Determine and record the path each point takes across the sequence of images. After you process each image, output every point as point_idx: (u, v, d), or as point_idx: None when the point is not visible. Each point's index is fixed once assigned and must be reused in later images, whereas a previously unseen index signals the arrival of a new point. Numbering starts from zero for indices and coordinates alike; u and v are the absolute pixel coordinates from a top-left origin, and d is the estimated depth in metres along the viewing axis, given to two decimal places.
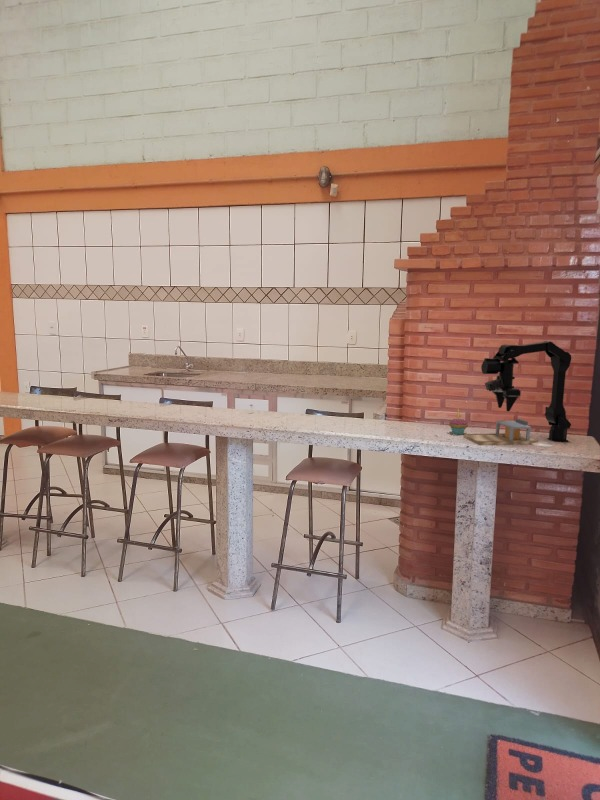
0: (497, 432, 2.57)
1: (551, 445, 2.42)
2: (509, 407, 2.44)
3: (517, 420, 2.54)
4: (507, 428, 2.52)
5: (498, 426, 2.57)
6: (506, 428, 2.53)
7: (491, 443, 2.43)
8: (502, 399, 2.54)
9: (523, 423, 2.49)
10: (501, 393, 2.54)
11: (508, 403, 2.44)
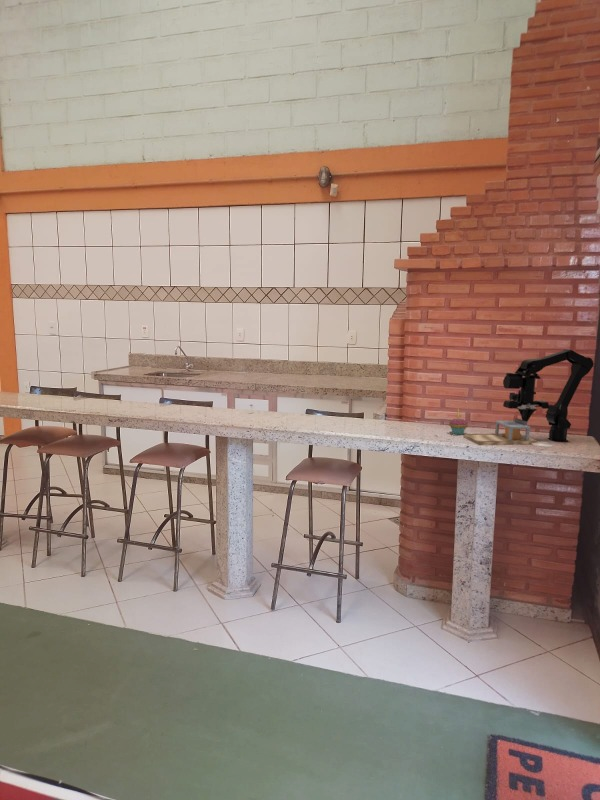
0: (496, 432, 2.57)
1: (551, 445, 2.42)
2: None
3: (516, 420, 2.54)
4: (507, 428, 2.52)
5: (497, 426, 2.57)
6: (506, 428, 2.53)
7: (491, 443, 2.43)
8: (527, 416, 2.51)
9: (522, 423, 2.49)
10: (527, 409, 2.51)
11: (521, 415, 2.52)
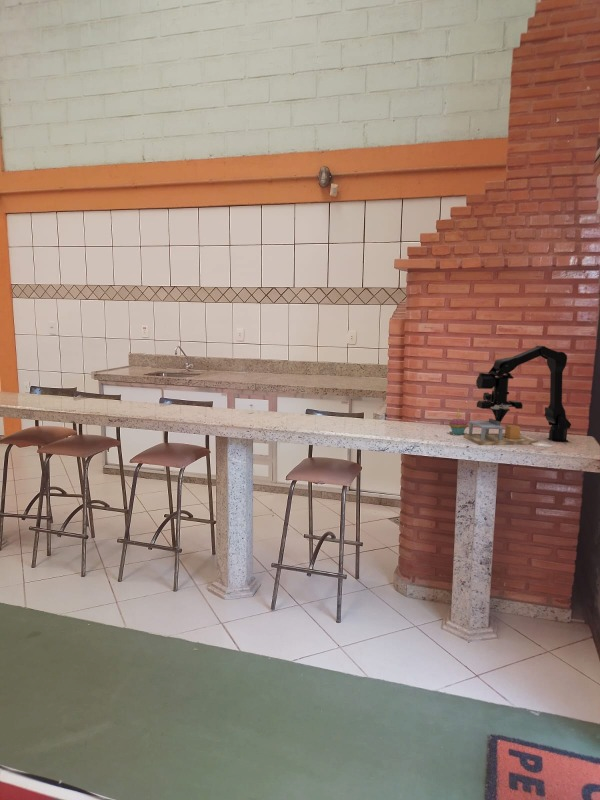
0: (470, 432, 2.55)
1: (551, 445, 2.42)
2: None
3: (490, 420, 2.52)
4: (507, 428, 2.52)
5: (471, 426, 2.55)
6: (506, 428, 2.53)
7: (491, 443, 2.43)
8: (500, 416, 2.49)
9: (495, 423, 2.47)
10: (501, 410, 2.49)
11: (495, 415, 2.50)
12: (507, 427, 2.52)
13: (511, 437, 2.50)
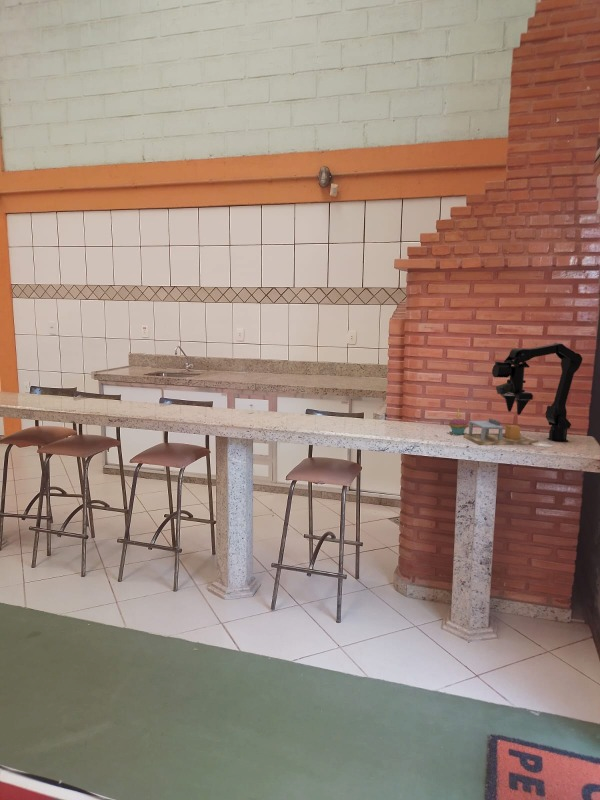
0: (470, 432, 2.55)
1: (551, 445, 2.42)
2: (520, 410, 2.46)
3: (490, 420, 2.52)
4: (507, 428, 2.52)
5: (471, 426, 2.55)
6: (506, 428, 2.53)
7: (491, 443, 2.43)
8: (512, 403, 2.54)
9: (495, 423, 2.47)
10: (511, 397, 2.54)
11: (519, 406, 2.45)
12: (507, 427, 2.52)
13: (511, 437, 2.50)
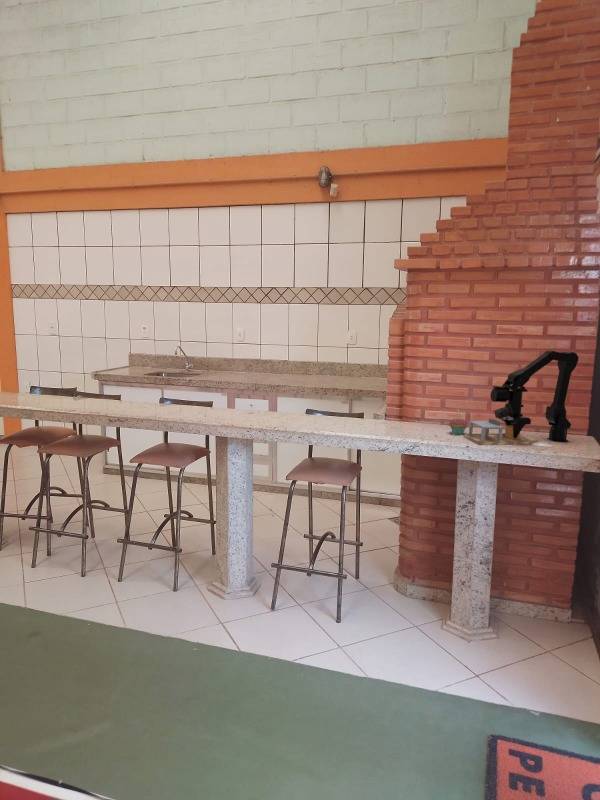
0: (470, 432, 2.55)
1: (551, 445, 2.42)
2: (516, 434, 2.49)
3: (490, 420, 2.52)
4: (507, 428, 2.52)
5: (471, 426, 2.55)
6: (506, 428, 2.53)
7: (491, 443, 2.43)
8: None
9: (495, 423, 2.47)
10: (511, 421, 2.54)
11: (515, 430, 2.48)
12: (507, 427, 2.52)
13: (511, 437, 2.50)
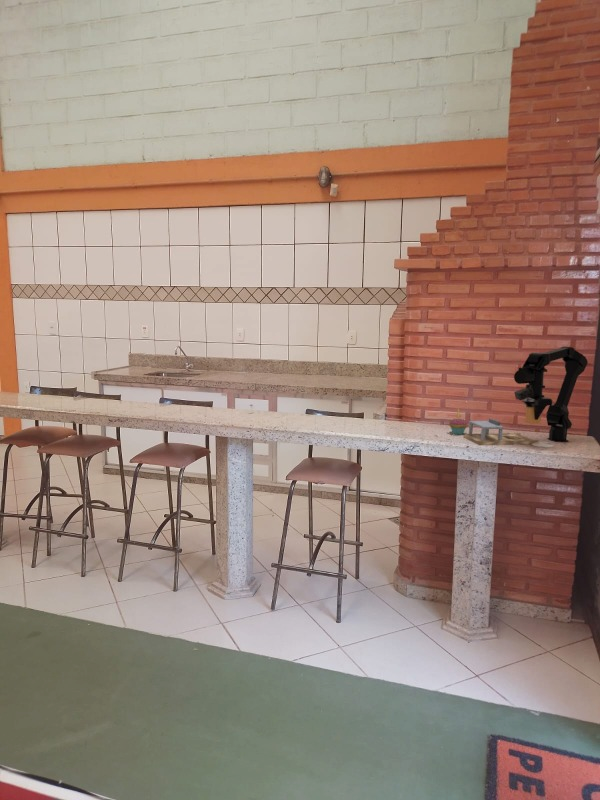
0: (470, 432, 2.55)
1: (551, 445, 2.42)
2: (537, 415, 2.43)
3: (490, 420, 2.52)
4: (528, 410, 2.46)
5: (471, 426, 2.55)
6: (527, 410, 2.47)
7: (491, 443, 2.43)
8: None
9: (495, 423, 2.47)
10: (532, 403, 2.48)
11: (537, 412, 2.42)
12: (528, 409, 2.46)
13: (532, 419, 2.44)
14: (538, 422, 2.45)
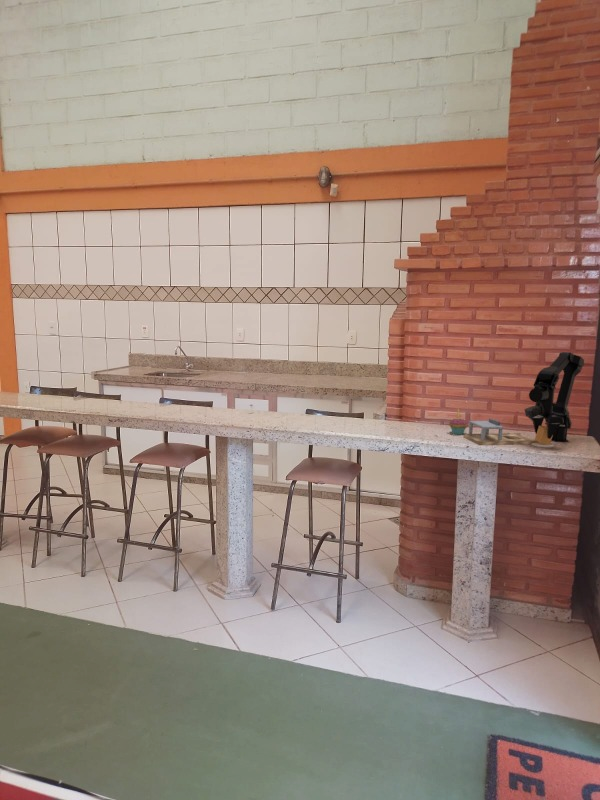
0: (470, 432, 2.55)
1: (551, 445, 2.42)
2: (550, 434, 2.39)
3: (490, 420, 2.52)
4: (540, 429, 2.44)
5: (471, 426, 2.55)
6: (539, 429, 2.44)
7: (491, 443, 2.43)
8: None
9: (495, 423, 2.47)
10: (538, 419, 2.49)
11: (550, 430, 2.38)
12: (540, 428, 2.44)
13: (543, 439, 2.42)
14: (548, 443, 2.43)
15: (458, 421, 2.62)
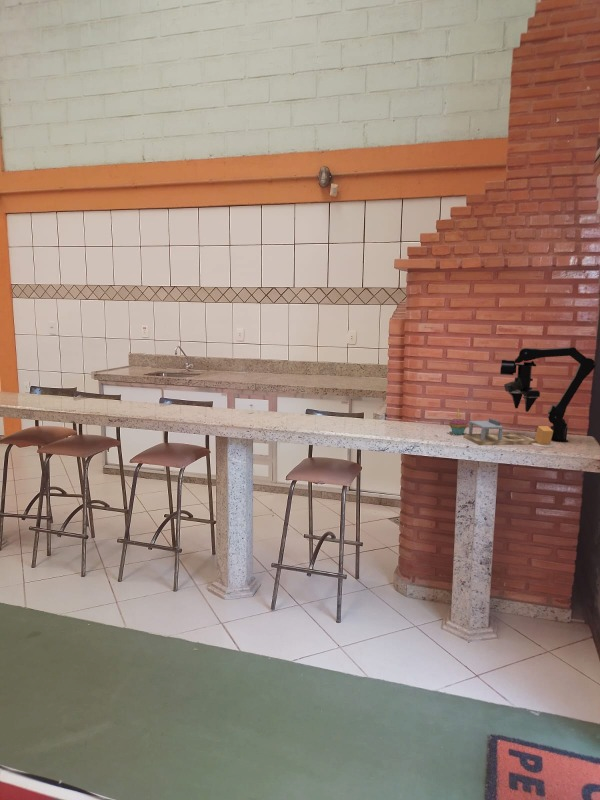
0: (470, 432, 2.55)
1: (551, 445, 2.42)
2: (528, 408, 2.54)
3: (490, 420, 2.52)
4: (539, 430, 2.43)
5: (471, 426, 2.55)
6: (538, 429, 2.44)
7: (491, 443, 2.43)
8: (518, 400, 2.64)
9: (495, 423, 2.47)
10: (518, 394, 2.64)
11: (527, 404, 2.54)
12: (539, 429, 2.43)
13: (542, 440, 2.42)
14: (548, 443, 2.43)
15: (458, 421, 2.62)
